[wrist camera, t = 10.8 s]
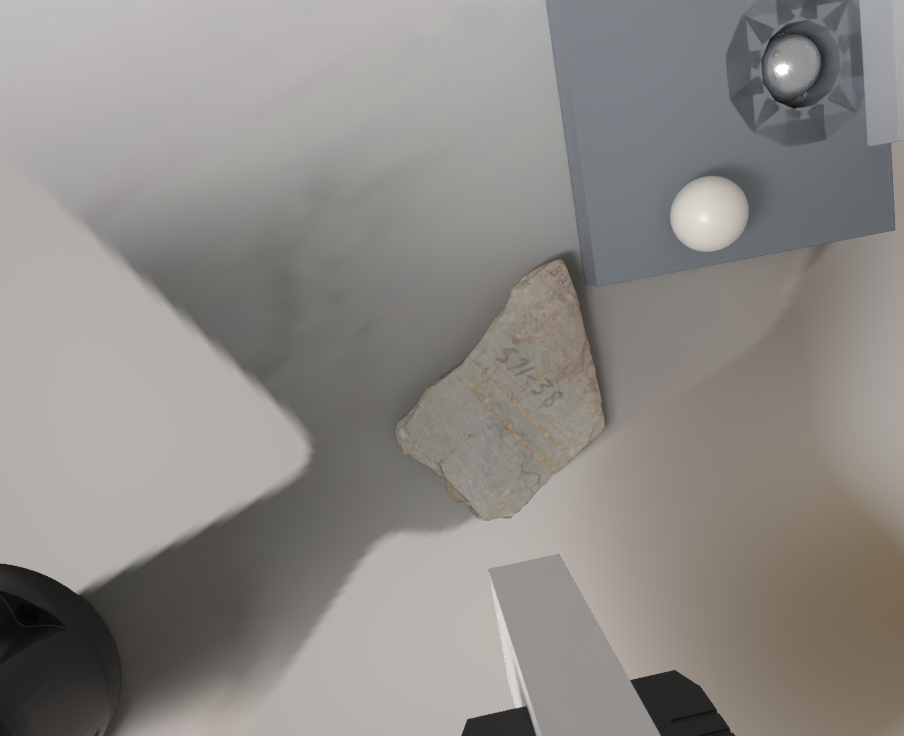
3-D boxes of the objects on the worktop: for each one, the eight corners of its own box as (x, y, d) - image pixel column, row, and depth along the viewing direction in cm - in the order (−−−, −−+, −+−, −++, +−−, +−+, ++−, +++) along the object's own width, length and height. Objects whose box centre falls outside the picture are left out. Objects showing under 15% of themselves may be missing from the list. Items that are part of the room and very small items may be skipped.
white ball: (663, 256, 41) (693, 259, 37) (654, 185, 40) (684, 180, 37) (730, 243, 42) (766, 245, 38) (723, 172, 41) (759, 166, 37)
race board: (585, 283, 44) (611, 290, 39) (535, -78, 40) (557, -121, 35) (866, 230, 45) (926, 230, 40) (846, -127, 41) (910, -175, 36)
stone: (542, 248, 44) (552, 249, 41) (656, 368, 46) (673, 375, 43) (371, 423, 44) (371, 434, 42) (491, 532, 47) (497, 549, 44)
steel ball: (742, 110, 42) (783, 98, 39) (736, 47, 42) (777, 29, 38) (792, 102, 43) (837, 89, 40) (788, 40, 42) (833, 22, 39)
